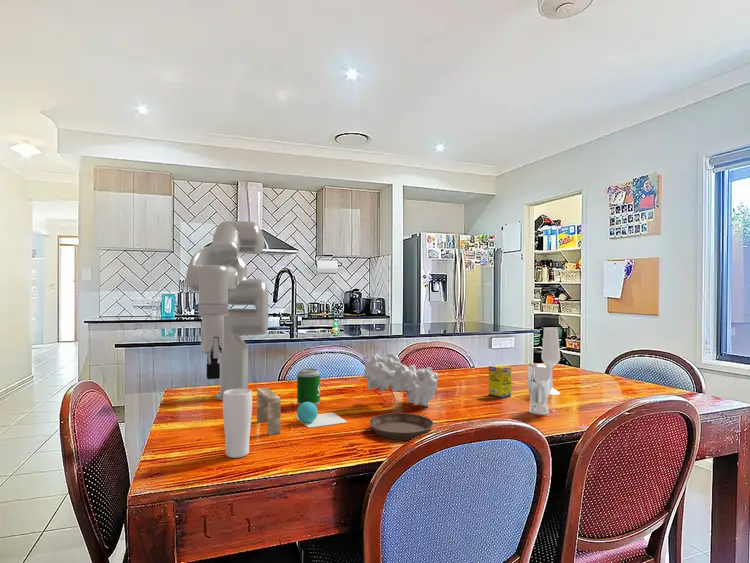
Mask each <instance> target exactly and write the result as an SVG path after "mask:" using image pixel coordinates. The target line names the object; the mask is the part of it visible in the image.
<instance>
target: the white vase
mask: <svg viewBox="0 0 750 563" xmlns="http://www.w3.org/2000/svg"><path fill="white" fill-rule="evenodd" d="M550 382H551V376H550V365H547V364H545V363H528V365H527V386H528V394H529V409H528V412H529V413H530V414H533V415H536V416H545V415H546V416H547V415H549V414H550V408H549V403H548V402H549V401H548V400H549V395H550V394H549V390H550Z"/></svg>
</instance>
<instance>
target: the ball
mask: <svg viewBox="0 0 750 563" xmlns="http://www.w3.org/2000/svg"><path fill="white" fill-rule="evenodd" d="M317 407H318V406H317ZM317 407H316V406H315V405H314V404H313V403H311V402H304V403H302V404H301V405H300V406H299V405H298V408H297V409H296V410H297V411H296V415H297V416H296V417H298V418H299V420H298V421H299V422H301V421H302V422H304V423H310V422H312V421H314V420H315V419H316V417H317V414H319V413H318V408H317ZM302 422H301V423H302Z"/></svg>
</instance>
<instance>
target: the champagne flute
mask: <svg viewBox="0 0 750 563" xmlns="http://www.w3.org/2000/svg"><path fill="white" fill-rule="evenodd" d="M559 341H560V340H559V332H558V328H556V327H555V328H554V327H553V328H551V327H548V328H546V327H545V328H543V335H542V346H541V347H542V348H541V361H542V362H543V364H547V365H550V376H551V382H550V390H549V395H554V396H555V395H557V396H558V395H560V394H561V392H559V391H558V390H557V389H555V388H554V387H553V368H554V367H555V366H556V365H557V364H559V362H560V361H561V351H560V343H559Z"/></svg>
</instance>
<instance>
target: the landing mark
mask: <svg viewBox="0 0 750 563" xmlns="http://www.w3.org/2000/svg"><path fill="white" fill-rule="evenodd" d="M295 418H296V419H297V420H298V421H300V420H299V418H298V416H296V417H295ZM300 422H301V423H302V424H303V425H305V426H306V427H307V428H308V429H314V428H320V427H327V426H333V425H334V426H336V425H340V424H341V423H342V424H348V423H349V421H347V420H345V418H342V417H341V416H340V415H338V414H336V413H335V412H326V413H318V414H317V417H316V419H315V420H314V421H312V422H310V423H304V422H302V421H300ZM342 424H341V425H342Z"/></svg>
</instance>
